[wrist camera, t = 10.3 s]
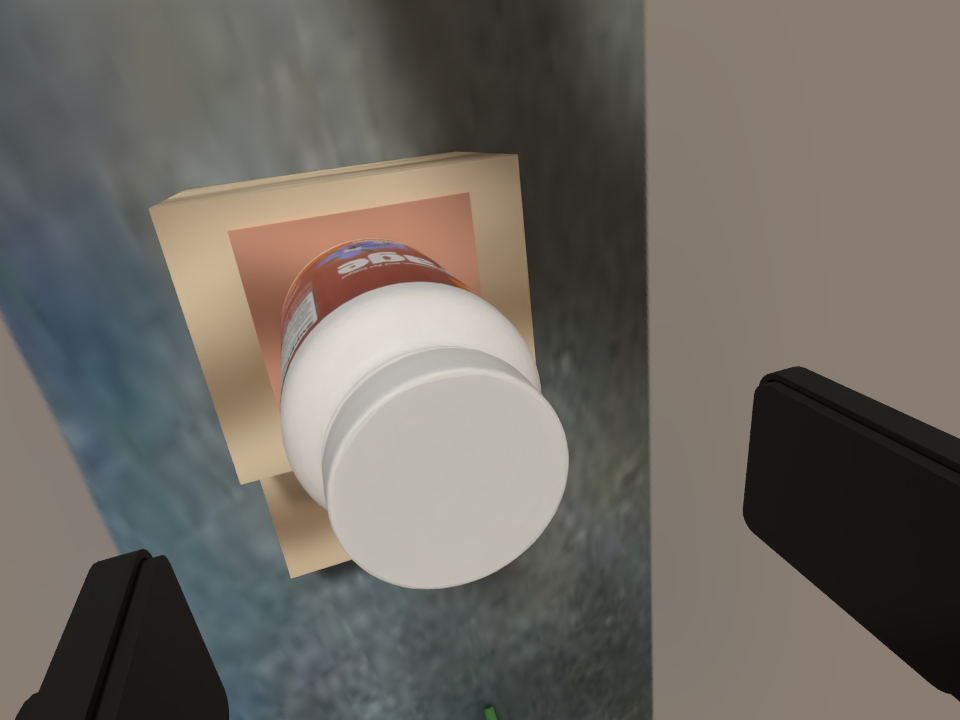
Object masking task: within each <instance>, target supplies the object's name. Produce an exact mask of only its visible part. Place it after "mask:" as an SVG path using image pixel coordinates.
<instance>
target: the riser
mask: <svg viewBox="0 0 960 720" xmlns="http://www.w3.org/2000/svg"><path fill="white" fill-rule="evenodd" d="M149 211H150V214H151V217H152V220H153V223H154V226H155V229H156V232H157V235H158V238H159V241H160V244H161V247H162V250H163V253H164V256H165V259H166V262H167V265H168V268H169V271H170V274H171V277H172V280H173V283H174V286H175V289H176V292H177V295H178V298H179V301H180V304H181V307H182V310H183V313H184V316H185V319H186V322H187V325H188V328H189V331H190V334H191V337H192V340H193V343H194V346H195V349H196V352H197V355H198V358H199V361H200V364H201V367H202V370H203V373H204V376H205V379H206V382H207V385H208V388H209V391H210V394H211V397H212V400H213V403H214V406H215V409H216V412H217V415H218V418H219V421H220V424H221V427H222V430H223V433H224V436H225V439H226V442H227V445H228V448H229V451H230V454H231V457H232V460H233V463H234V466H235V469H236V472H237V475H238V478H239V481H240V484H245V483H249V482H253V481H256V480H260V482H261V485H262V488H263V491H264V494H265V497H266V501H267V504H268V507H269V510H270V513H271V516H272V520H273V523H274V526H275V529H276V532H277V535H278V538H279V542H280V545H281V548H282V551H283V554H284V557H285V561H286V564H287V567H288V570H289V573H290V576H291V578H294V577H298V576H301V575H304V574H307V573H310V572H314V571H317V570H320V569H323V568H326V567H330V566H333V565H336V564H339V563H342V562H346V561H349V560H352V559H351V558H350V557H349V556H348V555H347V554H346V552H345V551H344V549H343V548H342V547H341V545H340V543H339V541H338V539H337V538H336V536H335V534H334V531H333V529H332V527H331V524H330V521H329V516H328V511H327V510H325V509H324V508H323V507H321V506H320V505H319V504H318V503H317V502H316V501H315V500H314V499H313V498H312V497H311V496H310V495H309V494H308V493H307V492H306V490H305V489H304V488H303V487H302V485H301V484H300V482H299V481H298V479H297V478H296V476H295V474H294V472H293V470H292V468H291V466H290V464H289V461H288V459H287V456H286V452H285V448H284V445H283V440H282V432H281V419H280V396H281V317H282V310H283V306H284V302H285V299H286V296H287V294H288V291H289V289H290V287H291V285H292V284H293V282H294V280H295V279H296V277H297V276H298V274H299V273H300V272H301V271H302V269H303V268H304V267H305V266H306V265H307V264H308V263H309V262H311V261H312V260H313V259H314V258H315V257H316V256H318V255H319V254H321V253H322V252H324V251H326V250H328V249H329V248H331V247H334V246H336V245H338V244H341V243H344V242H348V241H353V240H357V239H367V238H381V239H389V240H393V241H397V242H401V243H404V244H406V245H408V246H411V247H413V248H415V249H417V250H419V251H420V252H422V253H424V254H425V255H427V256H428V257H430V258H431V259H432V260H434V261H435V262H436V263H437V264H439V265H440V266H441V267H443V268H444V269H445V270H447V271H448V272H449V273H451V274H452V275H453V276H455V277H456V278H457V279H458V280H460V281H461V282H462V283H464V284H465V285H466V286H468V287H469V288H470V289H472V290H473V291H474V292H476V293H477V294H478V295H479V296H481V297H482V298H483V299H485V300H486V301H487V302H489V303H490V304H491V305H493V306H494V307H495V308H496V309H497V310H498V311H499V312H500V313H501V314H503V315H504V316H505V317H506V318H507V319H508V320H509V321H510V322H511V323H512V324H513V325H514V327H515V328H516V329H517V330H518V332H519V333H520V335H521V336H522V337H523V339H524V341H525V343H526V344H527V346H528V348H529V350H530V352H531V354H532V356H533V358H534V361H535V364H536V360H535V348H534V337H533V325H532V314H531V302H530V290H529V279H528V267H527V256H526V244H525V233H524V221H523V210H522V198H521V186H520V175H519V163H518V154H499V153H478V152H457V151H455V152H448V153H441V154H433V155H426V156H419V157H412V158H405V159H398V160H391V161H384V162H377V163H370V164H363V165H356V166H349V167H342V168H334V169H327V170H320V171H313V172H306V173H299V174H292V175H285V176H278V177H271V178H264V179H257V180H250V181H243V182H235V183H228V184H221V185H214V186H207V187H200V188H193V189H186V190H184V191H182V192H180V193H178V194H176V195H174V196H172V197H170V198H168V199H166V200H164V201H163V202H161V203H159V204H157V205H155V206H153V207H151V208H149Z"/></svg>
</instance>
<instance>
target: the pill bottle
mask: <svg viewBox="0 0 960 720" xmlns="http://www.w3.org/2000/svg"><path fill="white" fill-rule="evenodd" d="M280 419H281V432H282V440H283V445H284V448H285V452H286V456H287V459H288V461H289V464H290V466H291V468H292V470H293V472H294V474H295V476H296V478H297V479H298V481H299V482H300V484H301V485H302V487H303V488H304V489H305V490H306V492H307V493H308V494H309V495H310V496H311V497H312V498H313V499H314V500H315V501H316V502H317V503H318V504H319V505H320V506H321V507H323V508H324V509H325V510H327V511H328V516H329V521H330V524H331V527H332V529H333V531H334V534H335V536H336V538H337V539H338V541H339V543H340V545H341V547H342V548H343V549H344V551H345V552H346V554H347V555H348V556H349V557H350V558H351V559H352V560H353V561H354V562H355V563H356V564H357V565H358V566H360V567H361V568H362V569H364V570H365V571H366V572H368V573H369V574H371V575H373V576H375V577H377V578H379V579H381V580H383V581H386V582H388V583H391V584H394V585H398V586H402V587H406V588H414V589H442V588H447V587H453V586H459V585H463V584H466V583H469V582H472V581H475V580H478V579H481V578H483V577H486V576H488V575H490V574H492V573H494V572H496V571H498V570H499V569H501V568H502V567H504V566H506V565H508V564H509V563H510V562H512V561H513V560H515V559H516V558H517V557H518V556H520V555H521V554H522V553H523V552H524V551H526V550H527V549H528V548H529V547H530V546H531V545H532V544H533V543H534V542H535V541H536V540H537V539H538V537H539V536H540V535H541V533H542V532H543V531H544V529H545V528H546V527H547V525H548V524H549V522H550V521H551V519H552V518H553V516H554V514H555V513H556V510H557V508H558V506H559V504H560V502H561V499H562V496H563V493H564V489H565V486H566V481H567V474H568V466H569V453H568V447H567V441H566V436H565V433H564V430H563V427H562V424H561V422H560V420H559V418H558V416H557V414H556V412H555V411H554V409H553V408H552V407H551V405H550V404H549V402H548V401H547V400H546V399H545V398H544V397H543V396H542V394H541V385H540V379H539V374H538V371H537V367H536V364H535V361H534V358H533V356H532V354H531V352H530V350H529V348H528V346H527V344H526V343H525V341H524V339H523V337H522V336H521V335H520V333H519V332H518V330H517V329H516V328H515V327H514V325H513V324H512V323H511V322H510V321H509V320H508V319H507V318H506V317H505V316H504V315H503V314H501V313H500V312H499V311H498V310H497V309H496V308H495V307H494V306H493V305H491V304H490V303H489V302H487V301H486V300H485V299H483V298H482V297H481V296H479V295H478V294H477V293H476V292H474V291H473V290H472V289H470V288H469V287H468V286H466V285H465V284H464V283H462V282H461V281H460V280H458V279H457V278H456V277H455V276H453V275H452V274H451V273H449V272H448V271H447V270H445V269H444V268H443V267H441V266H440V265H439V264H437V263H436V262H435V261H434V260H432V259H431V258H430V257H428V256H427V255H425V254H424V253H422V252H420V251H419V250H417V249H415V248H413V247H411V246H408V245H406V244H404V243H401V242H397V241H393V240H389V239H381V238H367V239H357V240H353V241H348V242H344V243H341V244H338V245H336V246H334V247H331V248H329V249H328V250H326V251H324V252H322V253H321V254H319V255H318V256H316V257H315V258H314V259H313V260H312V261H311V262H309V263H308V264H307V265H306V266H305V267H304V268H303V269H302V271H301V272H300V273H299V274H298V276H297V277H296V279H295V280H294V282H293V284H292V285H291V287H290V289H289V291H288V294H287V296H286V299H285V302H284V306H283V310H282V317H281V396H280Z"/></svg>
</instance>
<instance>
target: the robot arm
mask: <svg viewBox="0 0 960 720" xmlns="http://www.w3.org/2000/svg"><path fill="white" fill-rule="evenodd" d="M743 516H744V520H745V522H746V524H747V526H748V527H749V529H750V530H751V531H752V532H753V533H754V534H755V535H757V536H758V537H759V538H760V539H761V540H762V541H763V542H765V543H766V544H767V545H768V546H769V547H770V548H772V549H773V550H774V551H775V552H776V553H778V554H779V555H780V556H781V557H782V558H783V559H785V560H786V561H787V562H788V563H790V564H791V565H792V566H793V567H794V568H795V569H796V570H798V571H799V572H800V573H801V574H802V575H803V576H805V577H806V578H807V579H808V580H809V581H811V582H812V583H813V584H814V585H815V586H816V587H817V588H819V589H820V590H821V591H822V592H823V593H825V594H826V595H827V596H828V597H829V598H830V599H832V600H833V601H834V602H835V603H836V604H837V605H839V606H840V607H841V608H842V609H843V610H844V611H846V612H847V613H848V614H849V615H850V616H852V617H853V618H854V619H855V620H856V621H858V622H859V623H860V624H861V625H862V626H863V627H864V628H866V629H867V630H868V631H869V632H870V633H872V634H873V635H874V636H875V637H876V638H877V639H878V640H880V641H881V642H882V643H883V644H884V645H886V646H887V647H888V648H889V649H890V650H891V651H893V652H894V653H895V654H896V655H897V656H899V657H900V658H901V659H902V660H903V661H904V662H906V663H907V664H908V665H909V666H910V667H911V668H913V669H914V670H915V671H916V672H917V673H918V674H920V675H921V676H922V677H923V678H924V679H926V680H927V681H928V682H929V683H930V684H931V685H933V686H934V687H936V688H937V689H938V690H940V691H943V692H945V693H948V694H952V695H953V696H954V697H955V698H956V699H958V700H959V701H960V439H959V438H957V437H955V436H952V435H950V434H948V433H946V432H944V431H941V430H939V429H937V428H935V427H933V426H930V425H928V424H926V423H924V422H922V421H919V420H917V419H915V418H913V417H911V416H909V415H906V414H904V413H902V412H900V411H898V410H896V409H893V408H891V407H889V406H887V405H885V404H882V403H880V402H878V401H876V400H874V399H872V398H869V397H867V396H865V395H863V394H861V393H858V392H856V391H854V390H852V389H850V388H847V387H845V386H843V385H841V384H839V383H836V382H834V381H832V380H830V379H828V378H825V377H823V376H821V375H819V374H817V373H815V372H813V371H810V370H808V369H806V368H803V367H792V368H788V369H784V370H781V371H777V372H774V373H770V374H767V375H766V376H764V377H763V378H762V380H761V381H760V384H759V386H758V387H757V389H756V390H755V393H754V402H753V411H752V422H751V431H750V442H749V452H748V463H747V473H746V483H745V493H744V503H743ZM15 720H229V707H228V700H227V696H226V692H225V689H224V687H223V685H222V682H221V680H220V678H219V675H218V673H217V671H216V668H215V666H214V664H213V661H212V659H211V657H210V655H209V652H208V650H207V648H206V645H205V643H204V641H203V638H202V636H201V634H200V631H199V629H198V627H197V624H196V622H195V620H194V617H193V615H192V613H191V610H190V608H189V606H188V604H187V601H186V599H185V597H184V594H183V592H182V590H181V587H180V585H179V583H178V580H177V578H176V576H175V573H174V571H173V569H172V566H171V564H170V562H169V560H168V559H167V558H166V556H164V555H161V556H157V557H154V558H153V557H152V555H151V554H150V553H149V552H148V551H147V550H145V549H141V550H137V551H134V552H130V553H127V554H123V555H120V556H116V557H112V558H109V559H105V560H102V561H98V562H96V563H94V564H93V565H92V567H91V568H90V570H89V572H88V575H87V577H86V579H85V582H84V584H83V587H82V589H81V591H80V594H79V596H78V598H77V601H76V603H75V606H74V608H73V610H72V613H71V615H70V618H69V620H68V622H67V625H66V627H65V630H64V632H63V634H62V637H61V639H60V642H59V644H58V646H57V649H56V651H55V654H54V656H53V658H52V661H51V663H50V666H49V668H48V670H47V673H46V675H45V678H44V680H43V682H42V685H41V687H40V690H39V692H38V693H35V694H33V695H32V696H31V697H30V698H29V699H28V700H27V701H25V702H24V704H23V706H22V707H21V709H20V711H19V713H18V714H17V716H16V718H15Z"/></svg>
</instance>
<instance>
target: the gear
mask: <svg viewBox="0 0 960 720" xmlns="http://www.w3.org/2000/svg"><path fill="white" fill-rule="evenodd" d="M483 711H484V714H485V717H486V720H497V717H496V714H495V711H494V708H493V706H490V707H488V708H485V709H484V710H483Z"/></svg>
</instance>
